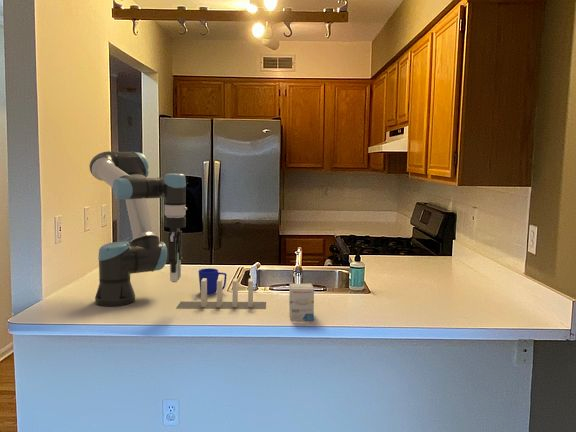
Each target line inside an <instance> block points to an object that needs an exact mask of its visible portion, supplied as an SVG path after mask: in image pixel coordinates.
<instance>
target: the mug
mask: <svg viewBox="0 0 576 432" xmlns="http://www.w3.org/2000/svg"><path fill="white" fill-rule="evenodd" d="M220 275H222V276H224V278H223V284H222V291H223V290H224V289H225V288H226V284H227V277H228V276H227V273H226V272H219V269H216V268H210V267H209V268H201V269H199V270H198V280H199V283H198V284H199V290H200V293H201V280H202V279H203V278H207V295H213V294H217V280H218V278H219V276H220Z"/></svg>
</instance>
